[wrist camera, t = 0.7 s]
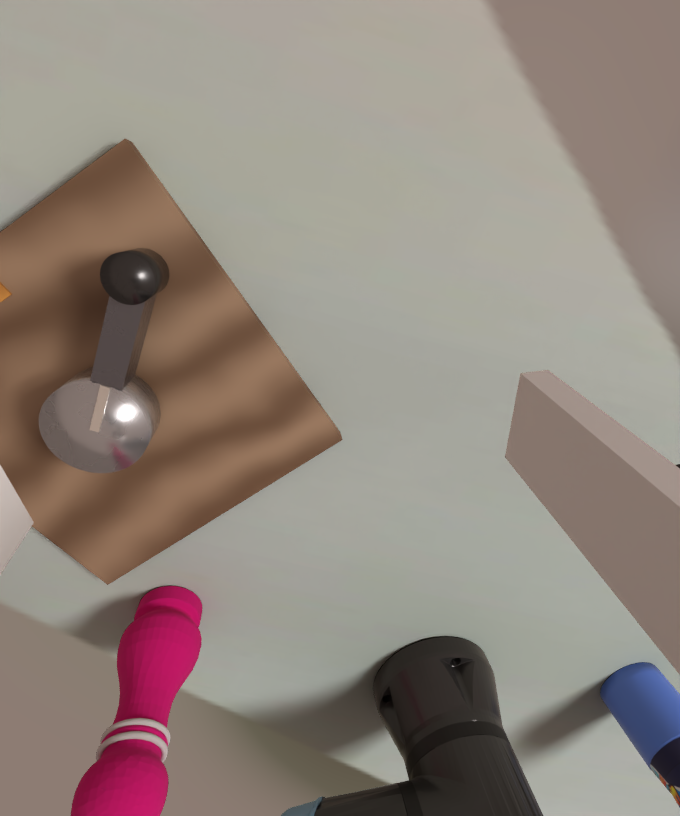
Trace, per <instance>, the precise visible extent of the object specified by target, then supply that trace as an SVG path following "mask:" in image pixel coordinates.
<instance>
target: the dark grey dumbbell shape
mask: <svg viewBox="0 0 680 816" xmlns="http://www.w3.org/2000/svg"><path fill="white" fill-rule="evenodd" d="M169 275H170V274H169V268H168V265H167V263H166V262H165V260H164V259H163V257H162V256H161V255H159V254H158V253H157V252H155V251H153V250H151V249H147V248H137V249H132V250H128V251H123V252H118V253H114V254H112V255H110V256H109V257H107V258H106V259H105V260H104V262H103V263H102V265H101V269H100V280H101V283H102V286H103V288H104V289H105V291H106V292H107V293H108V295H109V300H108V305H107V309H106V313H105V318H104V322H103V326H102V331H101V335H100V339H99V344H98V348H97V352H96V357H95V361H94V365H93V367H92V368H88V369H85V370H83V371H81V372H79V373H78V374H76V375H75V376H74V377H72V378H71V379H70V380H69V381H67V382H66V383H65V384H63V385H62V386H61V387H60V388H58V389H57V390H56V391H55V392H53V393H52V394H51V395H50V396H49V397H48V398H47V399H46V401H45V402H44V403H43V405H42V407H41V410H40V413H39V429H40V433H41V436H42V438H43V440H44V442H45V444H46V445H47V447H48V448H49V449H50V451H51V452H52V453H53V454H54V455H55V456H57V457H58V458H59V459H60V460H62V461H63V462H65V463H66V464H68V465H70V466H72V467H74V468H77V469H79V470H83V471H87V472H92V473H111V472H116V471H120V470H123V469H125V468H127V467H129V466H131V465H132V464H134V463H135V462H136V461H137V460H138V459H139V458H140V457H141V456H142V455H143V453H144V451H145V450H146V448H147V446H148V444H149V443H150V441H151V439H152V437H153V435H154V434H155V432H156V430H157V428H158V426H159V423H160V418H161V409H160V404H159V401H158V398H157V396H156V394H155V393H154V391H153V390H152V388H151V387H150V386H149V385H148V384H147V383H146V382H145V381H144V380H143V379H142V378H140V377H139V376H137V375H136V370H137V366H138V363H139V359H140V355H141V351H142V348H143V344H144V340H145V336H146V333H147V329H148V325H149V322H150V318H151V314H152V310H153V307H154V303H155V299H156V295H157V293H159V292H161V291H162V290H163V289H164V288H165V287H166V286H167V284H168V281H169Z"/></svg>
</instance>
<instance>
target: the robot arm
mask: <svg viewBox="0 0 680 816" xmlns="http://www.w3.org/2000/svg"><path fill="white" fill-rule="evenodd" d="M505 458H506V459H507V460H508V461H509V463H510V464H511V465H512V466H513V468H514V469H515V470H516V471H517V473H518V474H519V475H520V476H521V478H522V479H523V480H524V481H525V483H526V484H527V485H528V486H529V488H530V489H531V490H532V491H533V493H534V494H535V495H536V496H537V498H538V499H539V500H540V501H541V503H542V504H543V505H544V506H545V507H546V509H547V510H548V511H549V512H550V514H551V515H552V516H553V517H554V519H555V520H556V521H557V522H558V524H559V525H560V526H561V527H562V529H563V530H564V531H565V532H566V534H567V535H568V536H569V537H570V539H571V540H572V541H573V542H574V544H575V545H576V546H577V547H578V549H579V550H580V551H581V552H582V554H583V555H584V556H585V557H586V559H587V560H588V561H589V562H590V564H591V565H592V566H593V567H594V568H595V570H596V571H597V572H598V573H599V575H600V576H601V577H602V578H603V580H604V581H605V582H606V583H607V585H608V586H609V587H610V588H611V590H612V591H613V592H614V593H615V595H616V596H617V597H618V598H619V600H620V601H621V602H622V603H623V605H624V606H625V607H626V608H627V610H628V611H629V612H630V613H631V615H632V616H633V617H634V618H635V620H636V621H637V622H638V623H639V625H640V626H641V627H642V628H643V629H644V631H645V632H646V633H647V634H648V636H649V637H650V638H651V639H652V641H653V642H654V643H655V644H656V646H657V647H658V648H659V649H660V651H661V652H662V653H663V654H664V656H665V657H666V658H667V659H668V661H669V662H670V663H671V664H672V666H673V667H674V668H675V669H676V671H677V672H678V673H679V674H680V464H678V465H674V464H673V463H672V462H670V461H669V460H668V459H666V458H665V457H664V456H662V455H661V454H660V453H658V452H657V451H656V450H654V449H653V448H652V447H650V446H649V445H648V444H646V443H645V442H644V441H642V440H641V439H640V438H638V437H637V436H635V435H634V434H633V433H631V432H630V431H629V430H627V429H626V428H625V427H623V426H622V425H621V424H619V423H618V422H617V421H615V420H614V419H613V418H611V417H610V416H609V415H607V414H606V413H605V412H603V411H602V410H601V409H599V408H598V407H597V406H595V405H594V404H593V403H591V402H590V401H589V400H587V399H586V398H585V397H583V396H582V395H581V394H579V393H578V392H577V391H575V390H574V389H573V388H571V387H570V386H569V385H567V384H566V383H565V382H563V381H562V380H561V379H559V378H558V377H557V376H555V375H554V374H553V373H551V372H550V371H549V370H544V371H535V372H527V373H521V374H520V379H519V384H518V390H517V395H516V401H515V406H514V411H513V417H512V422H511V428H510V433H509V438H508V444H507V449H506V455H505ZM33 523H34V522H33V520H32V518H31V517H30V515H29V513H28V512H27V510H26V508H25V506H24V505H23V503H22V501H21V500H20V498H19V496H18V494H17V493H16V491H15V489H14V487H13V486H12V484H11V482H10V481H9V479H8V477H7V475H6V474H5V472H4V470H3V469H2V467H1V465H0V575H1V573H2V572H3V570H4V569H5V567H6V565H7V564H8V562H9V561H10V559H11V558H12V556H13V554H14V553H15V551H16V550H17V548H18V547H19V545H20V544H21V542H22V540H23V539H24V537H25V536H26V534H27V533H28V531H29V529H30V528H31V526H32V525H33ZM373 691H374V696H375V701H376V706H377V710H378V713H379V715H380V717H381V719H382V721H383V723H384V725H385V726H386V728H387V730H388V732H389V734H390V735H391V737H392V739H393V741H394V743H395V745H396V746H397V748H398V750H399V752H400V754H401V755H402V757H403V759H404V762H405V765H406V769H407V773H408V777H409V781H405V782H400V783H394V784H390V785H385V786H381V787H376V788H372V789H367V790H363V791H358V792H354V793H349V794H344V795H339V796H333V797H328V798H325V797H319V798H318V799H317V800H316V801H313V802H310V803H306V804H303V805H300V806H296V807H292V808H290V809H288V810H286V811H285V812H284V813H283V814H282V815H281V816H543V814H542V812H541V810H540V808H539V805H538V803H537V801H536V799H535V797H534V795H533V792H532V790H531V788H530V786H529V784H528V781H527V779H526V777H525V775H524V773H523V771H522V768H521V766H520V764H519V762H518V760H517V757H516V755H515V753H514V751H513V749H512V747H511V745H510V742H509V740H508V738H507V736H506V733H505V731H504V729H503V726H502V721H501V715H500V708H499V702H498V696H497V690H496V683H495V677H494V673H493V670H492V668H491V666H490V664H489V662H488V660H487V658H486V656H485V654H484V652H483V651H482V649H481V648H480V647H479V646H477V645H476V644H474V643H473V642H471V641H468V640H465V639H462V638H456V637H438V638H432V639H427V640H423V641H420V642H417V643H414V644H412V645H410V646H408V647H406V648H404V649H402V650H400V651H399V652H397V653H396V654H395V655H393V656H392V657H391V658H390V659H388V660H387V661H386V662H385V663H384V665H383V666H382V667H381V668H380V670H379V672H378V673H377V675H376V678H375V680H374V685H373Z"/></svg>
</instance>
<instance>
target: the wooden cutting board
mask: <svg viewBox="0 0 680 816" xmlns="http://www.w3.org/2000/svg"><path fill="white" fill-rule="evenodd" d="M137 248H147V249H151V250H153V251H155V252H157V253H158V254H159V255H161V256H162V257H163V259H164V260H165V262H166V263H167V265H168V268H169V274H170V275H169V281H168V284H167V286H166V287H165V288H164V289H163V290H162V291H161V292H159V293H157V295H156V299H155V303H154V307H153V310H152V314H151V318H150V322H149V325H148V329H147V333H146V336H145V340H144V344H143V348H142V351H141V355H140V359H139V363H138V366H137V370H136V375H137V376H139V377H140V378H142V379H143V380H144V381H145V382H146V383H147V384H148V385H149V386H150V387H151V388H152V390H153V391H154V393H155V394H156V396H157V398H158V401H159V404H160V409H161V418H160V423H159V426H158V428H157V430H156V432H155V434H154V435H153V437H152V439H151V441H150V443H149V444H148V446H147V448H146V450H145V451H144V453H143V455H142V456H141V457H140V458H139V459H138V460H137V461H136V462H135V463H134V464H132V465H131V466H129V467H127V468H125V469H123V470H120V471H116V472H111V473H92V472H87V471H83V470H79V469H77V468H74V467H72V466H70V465H68V464H66V463H65V462H63V461H62V460H60V459H59V458H58V457H57V456H55V455H54V454H53V453H52V452H51V451H50V449H49V448H48V447H47V445H46V444H45V442H44V440H43V438H42V436H41V433H40V429H39V413H40V410H41V407H42V405H43V403H44V402H45V401H46V399H47V398H48V397H49V396H50V395H51V394H52V393H53V392H55V391H56V390H57V389H58V388H60V387H61V386H62V385H63V384H65V383H66V382H67V381H69V380H70V379H71V378H72V377H74V376H75V375H76V374H78V373H79V372H81V371H83V370H85V369H88V368H92V367H93V365H94V361H95V357H96V352H97V348H98V344H99V339H100V335H101V331H102V326H103V322H104V318H105V313H106V309H107V305H108V300H109V295H108V293H107V292H106V291H105V289H104V288H103V286H102V283H101V280H100V269H101V265H102V263H103V262H104V260H105V259H106V258H107V257H109V256H110V255H112V254H114V253H118V252H123V251H128V250H132V249H137ZM341 440H342V437H341V434H340V431H339V430H338V428H337V427H336V426H335V424H334V423H333V421H332V420H331V419H330V417H329V416H328V415H327V413H326V412H325V410H324V409H323V408H322V406H321V405H320V403H319V402H318V401H317V399H316V398H315V396H314V395H313V394H312V392H311V391H310V389H309V388H308V387H307V385H306V384H305V382H304V381H303V380H302V378H301V377H300V375H299V374H298V373H297V371H296V370H295V369H294V367H293V366H292V364H291V363H290V362H289V360H288V359H287V357H286V356H285V355H284V353H283V352H282V350H281V349H280V348H279V346H278V345H277V343H276V342H275V341H274V339H273V338H272V336H271V335H270V334H269V332H268V331H267V329H266V328H265V327H264V325H263V324H262V323H261V321H260V320H259V318H258V317H257V316H256V314H255V313H254V311H253V310H252V309H251V307H250V306H249V304H248V303H247V302H246V300H245V299H244V297H243V296H242V295H241V293H240V292H239V290H238V289H237V288H236V286H235V285H234V283H233V282H232V281H231V279H230V278H229V277H228V275H227V274H226V272H225V271H224V270H223V268H222V267H221V265H220V264H219V263H218V261H217V260H216V258H215V257H214V256H213V254H212V253H211V251H210V250H209V249H208V247H207V246H206V244H205V243H204V242H203V240H202V239H201V237H200V236H199V235H198V233H197V232H196V230H195V229H194V228H193V226H192V225H191V224H190V222H189V221H188V219H187V218H186V217H185V215H184V214H183V212H182V211H181V210H180V208H179V207H178V205H177V204H176V203H175V201H174V200H173V198H172V197H171V196H170V194H169V193H168V191H167V190H166V189H165V187H164V186H163V184H162V183H161V182H160V180H159V179H158V178H157V176H156V175H155V173H154V172H153V171H152V169H151V168H150V166H149V165H148V164H147V162H146V161H145V159H144V158H143V157H142V155H141V154H140V152H139V151H138V150H137V148H136V147H135V145H134V144H133V143H132V142H131V141H129V140H127V139H124V140H123V141H121V142H120V143H119V144H117V145H116V146H115V147H113V148H112V149H111V150H109V151H108V152H107V153H105V154H104V155H103V156H101V157H100V158H99V159H97V160H96V161H95V162H93V163H92V164H91V165H89V166H88V167H87V168H85V169H84V170H83V171H81V172H80V173H79V174H77V175H76V176H75V177H73V178H72V179H71V180H69V181H68V182H67V183H65V184H64V185H63V186H61V187H60V188H59V189H57V190H56V191H55V192H53V193H52V194H51V195H49V196H48V197H47V198H45V199H44V200H43V201H41V202H40V203H39V204H37V205H36V206H35V207H33V208H32V209H31V210H29V211H28V212H27V213H25V214H24V215H23V216H21V217H20V218H19V219H17V220H16V221H15V222H13V223H12V224H11V225H9V226H8V227H7V228H5V229H4V230H3V231H1V232H0V465H1V467H2V469H3V470H4V472H5V474H6V475H7V477H8V479H9V481H10V482H11V484H12V486H13V487H14V489H15V491H16V493H17V494H18V496H19V498H20V500H21V501H22V503H23V505H24V506H25V508H26V510H27V512H28V513H29V515H30V517H31V518H32V520H33V522H34V523H33V525H32V527H34V528H35V529H36V530H38V531H39V532H40V533H41V534H43V535H44V536H45V537H47V538H48V539H49V540H51V541H52V542H53V543H54V544H56V545H57V546H58V547H60V548H61V549H62V550H63V551H65V552H66V553H67V554H69V555H70V556H71V557H73V558H74V559H75V560H76V561H78V562H79V563H80V564H82V565H83V566H84V567H85V568H87V569H88V570H89V571H91V572H92V573H93V574H95V575H96V576H97V577H98V578H100V579H101V580H102V581H104V582H105V583H106V584H107V585H108V584H110V583H111V582H113V581H115V580H116V579H118V578H119V577H121V576H123V575H124V574H126V573H128V572H129V571H131V570H132V569H134V568H136V567H137V566H139V565H140V564H142V563H144V562H145V561H147V560H149V559H150V558H152V557H153V556H155V555H157V554H158V553H160V552H161V551H163V550H165V549H166V548H168V547H170V546H171V545H173V544H174V543H176V542H178V541H179V540H181V539H182V538H184V537H186V536H187V535H189V534H191V533H192V532H194V531H195V530H197V529H199V528H200V527H202V526H204V525H205V524H207V523H208V522H210V521H212V520H213V519H215V518H216V517H218V516H220V515H221V514H223V513H225V512H226V511H228V510H229V509H231V508H233V507H234V506H236V505H237V504H239V503H241V502H242V501H244V500H246V499H247V498H249V497H250V496H252V495H254V494H255V493H257V492H259V491H260V490H262V489H263V488H265V487H267V486H268V485H270V484H271V483H273V482H275V481H276V480H278V479H280V478H281V477H283V476H284V475H286V474H288V473H289V472H291V471H292V470H294V469H296V468H297V467H299V466H301V465H302V464H304V463H305V462H307V461H309V460H310V459H312V458H313V457H315V456H317V455H318V454H320V453H322V452H323V451H325V450H326V449H328V448H330V447H331V446H333V445H335V444H336V443H338V442H339V441H341Z"/></svg>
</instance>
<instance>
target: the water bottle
mask: <svg viewBox="0 0 680 816" xmlns="http://www.w3.org/2000/svg"><path fill="white" fill-rule="evenodd" d="M600 696H601V698H602V700H603V701H604V703H605V704H606V706H607V707H608V709H609V710H610V711H611V713H612V714H613V716H614V717H615V719H616V720H617V722H618V723H619V725H620V726H621V728H622V729H623V730H624V732H625V733H626V735H627V736H628V738H629V739H630V741H631V742H632V744H633V745H634V746H635V748H636V749H637V751H638V752H639V754H640V755H641V757H642V758H643V759H644V761H645V762H646V764H647V765H648V767H649V768H650V769H651V770H652V771H653V772H654V774H655V775H656V776H657V777H658V778H659V780H660V781H661V782H662V783H663V784H664V786H665V787H666V788H667V789H668V790H669V792H670V793H671V794H672V795H673V797H674V799H675V800H676V802H677V804H678V805H679V807H680V694H679V693H678V692H677V691H676V689H675V688H674V687H673V686H672V685H671V684H670V682H669V681H668V680H667V679H666V678H665V677H664V675H663V674H662V673H661V672H660V671H659V670H658V668H657V667H656V666H655V665H653V664H651V663H644V662H642V663H635V664H631V665H628V666H626V667H623V668H621V669H619V670H618V671H616V672H615V673H613V674H612V675H611V676H610V677H609V678H608V679H607V680H606V681H605V682H604V684H603V685H602V687H601V690H600Z"/></svg>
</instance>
